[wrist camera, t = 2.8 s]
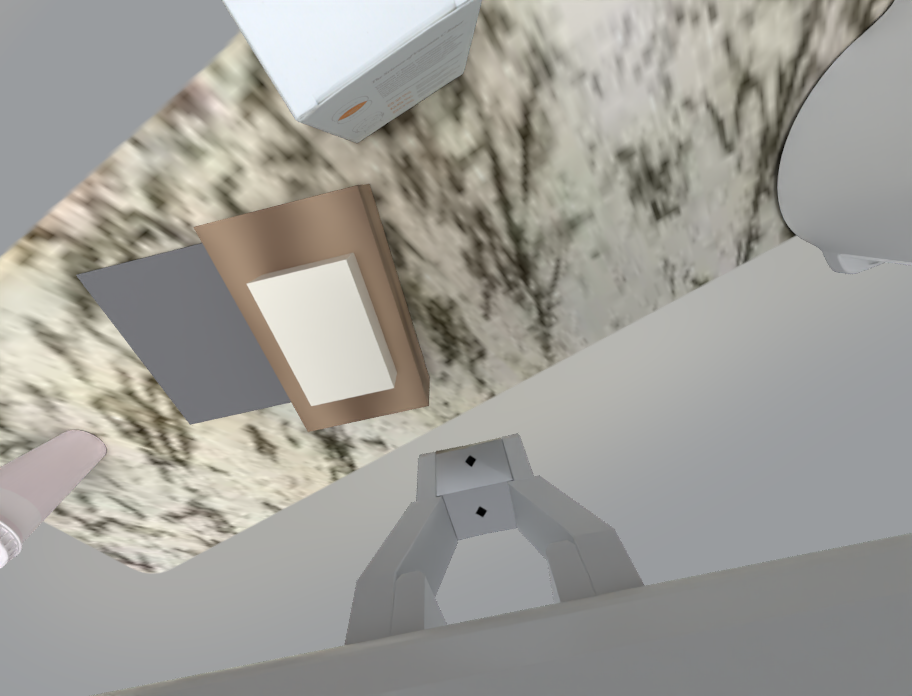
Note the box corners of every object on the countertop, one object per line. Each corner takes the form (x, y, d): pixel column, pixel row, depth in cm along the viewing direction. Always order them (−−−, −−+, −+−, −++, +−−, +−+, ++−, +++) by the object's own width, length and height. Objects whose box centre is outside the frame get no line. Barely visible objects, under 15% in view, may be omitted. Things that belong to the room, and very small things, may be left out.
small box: (418, -42, 18) (399, -282, 9) (465, 75, 20) (491, -12, 11) (298, 46, 19) (167, -78, 10) (355, 146, 22) (294, 123, 12)
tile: (353, 252, 21) (346, 259, 19) (397, 372, 25) (394, 388, 23) (262, 274, 21) (246, 283, 19) (320, 390, 25) (311, 406, 23)
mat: (238, 234, 24) (234, 235, 23) (318, 393, 30) (316, 396, 30) (82, 273, 24) (75, 275, 24) (193, 420, 31) (190, 424, 30)
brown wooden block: (369, 184, 23) (357, 185, 19) (429, 378, 30) (428, 405, 26) (230, 219, 23) (193, 226, 20) (323, 402, 30) (308, 431, 27)
